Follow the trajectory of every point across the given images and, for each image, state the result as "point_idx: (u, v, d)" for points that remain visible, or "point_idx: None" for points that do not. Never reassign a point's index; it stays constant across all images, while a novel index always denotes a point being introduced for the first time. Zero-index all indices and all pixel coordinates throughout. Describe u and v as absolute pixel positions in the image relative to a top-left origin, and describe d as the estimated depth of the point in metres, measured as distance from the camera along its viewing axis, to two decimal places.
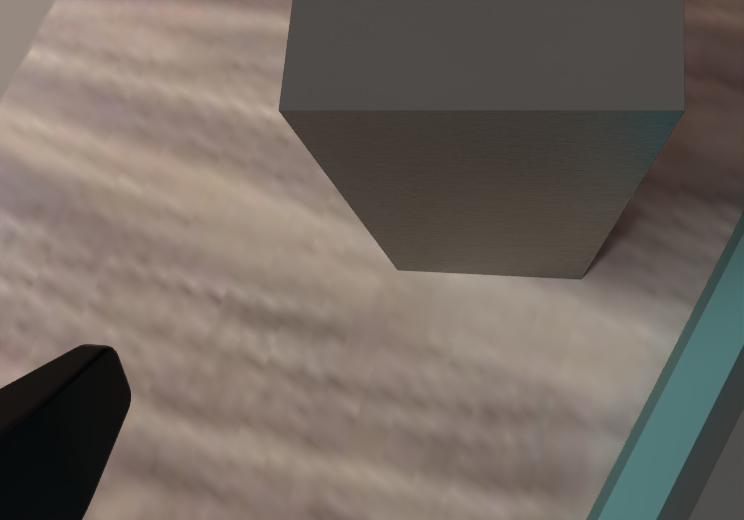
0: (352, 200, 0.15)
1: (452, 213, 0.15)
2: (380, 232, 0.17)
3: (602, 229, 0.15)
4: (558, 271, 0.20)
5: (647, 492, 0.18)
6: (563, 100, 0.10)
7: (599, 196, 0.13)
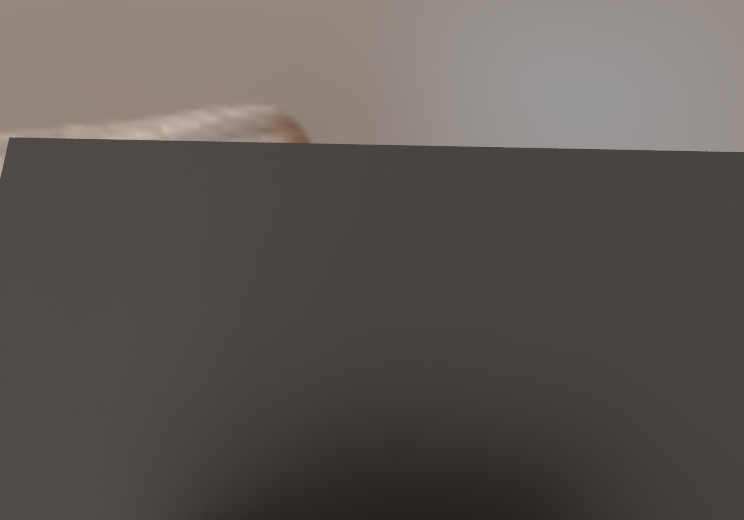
0: None
1: None
2: None
3: None
4: None
5: None
6: None
7: None
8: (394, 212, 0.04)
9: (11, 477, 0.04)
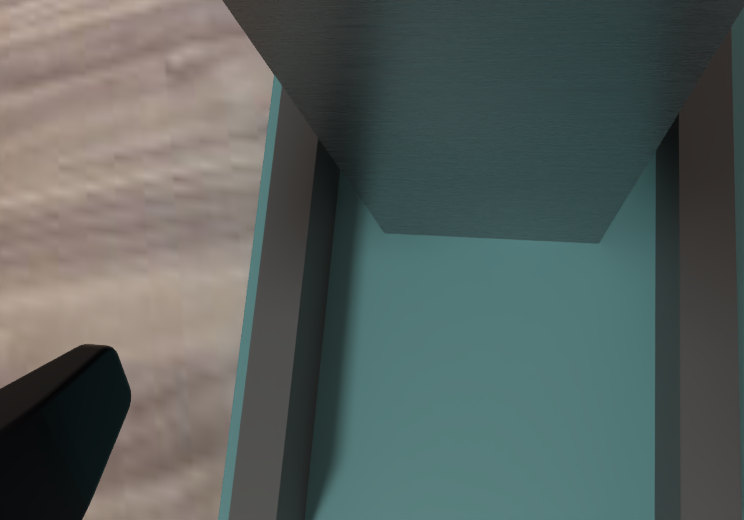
0: (318, 125, 0.12)
1: (445, 143, 0.12)
2: (358, 177, 0.14)
3: (634, 166, 0.12)
4: (573, 232, 0.17)
5: None
6: None
7: (637, 110, 0.10)
8: None
9: None
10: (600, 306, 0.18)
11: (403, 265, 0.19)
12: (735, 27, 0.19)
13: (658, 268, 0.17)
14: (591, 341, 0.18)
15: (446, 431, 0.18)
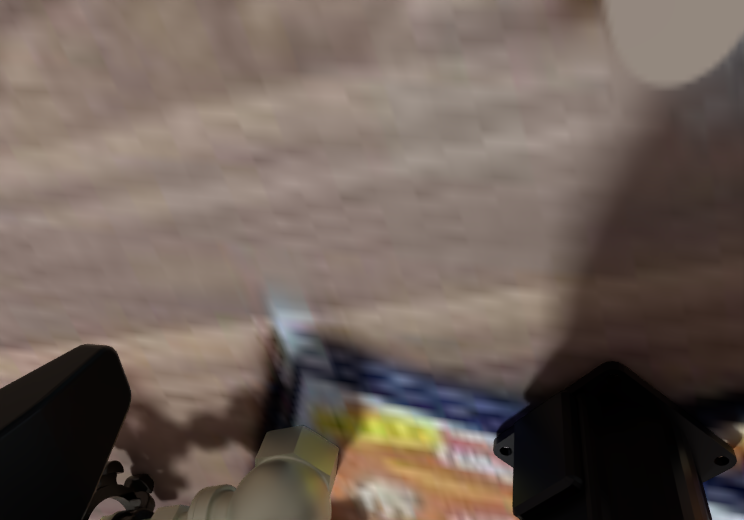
0: None
1: None
2: None
3: None
4: None
5: None
6: None
7: None
8: None
9: None
10: None
11: None
12: None
13: None
14: None
15: None
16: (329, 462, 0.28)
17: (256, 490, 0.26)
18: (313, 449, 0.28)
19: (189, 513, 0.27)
